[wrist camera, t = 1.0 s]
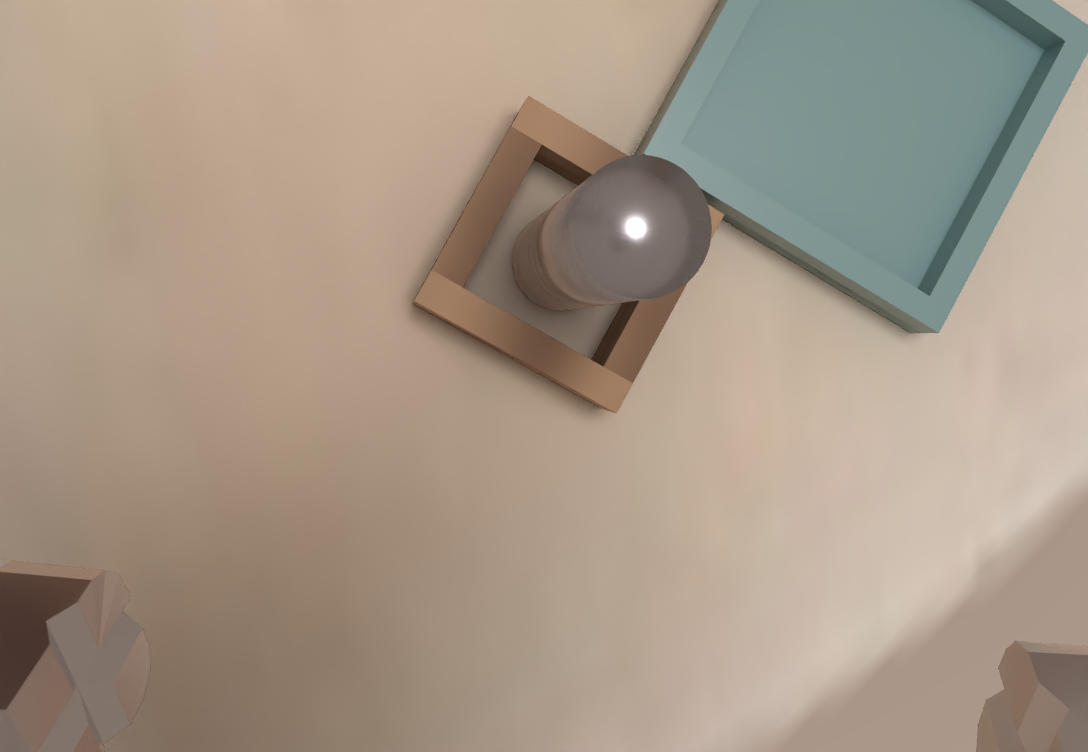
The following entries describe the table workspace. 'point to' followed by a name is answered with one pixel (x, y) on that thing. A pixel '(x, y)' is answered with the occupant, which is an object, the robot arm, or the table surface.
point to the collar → (447, 299)
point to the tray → (870, 133)
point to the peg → (616, 237)
